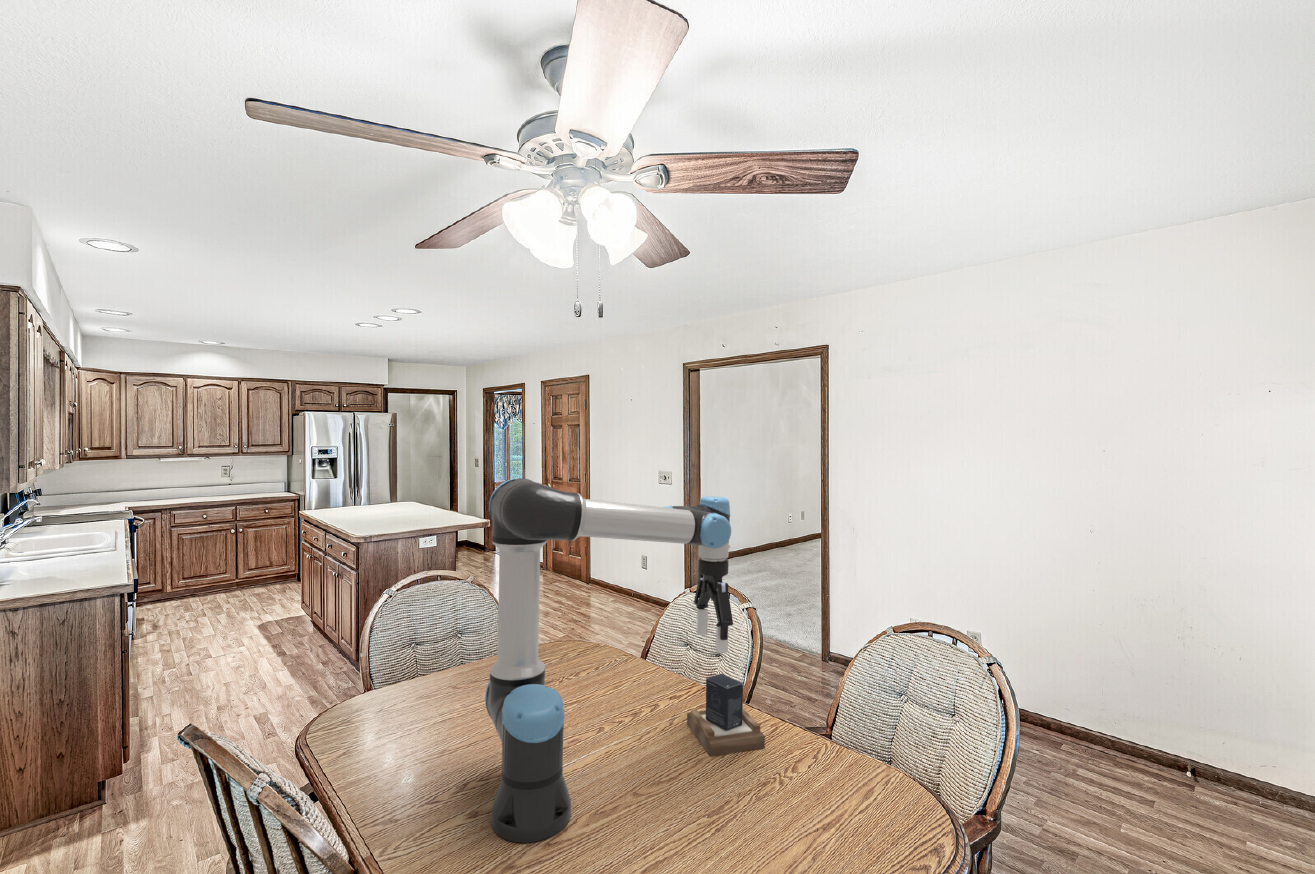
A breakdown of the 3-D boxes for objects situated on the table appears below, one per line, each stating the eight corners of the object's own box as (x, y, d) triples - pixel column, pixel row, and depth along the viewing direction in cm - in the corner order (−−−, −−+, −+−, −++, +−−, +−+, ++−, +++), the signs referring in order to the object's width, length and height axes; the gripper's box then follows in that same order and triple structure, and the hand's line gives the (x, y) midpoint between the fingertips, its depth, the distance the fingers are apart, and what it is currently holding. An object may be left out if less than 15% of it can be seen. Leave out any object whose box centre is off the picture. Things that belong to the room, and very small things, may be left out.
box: (742, 725, 145) (743, 682, 146) (726, 731, 142) (726, 688, 142) (721, 713, 152) (721, 672, 152) (704, 719, 148) (705, 677, 148)
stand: (764, 747, 141) (764, 729, 141) (710, 756, 137) (710, 736, 137) (736, 717, 156) (736, 700, 156) (687, 724, 152) (687, 706, 152)
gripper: (748, 568, 137) (746, 659, 137) (709, 548, 161) (707, 626, 161) (718, 569, 135) (716, 662, 135) (683, 549, 159) (681, 628, 158)
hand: (711, 642), depth 148 cm, fingers open, 13 cm apart
